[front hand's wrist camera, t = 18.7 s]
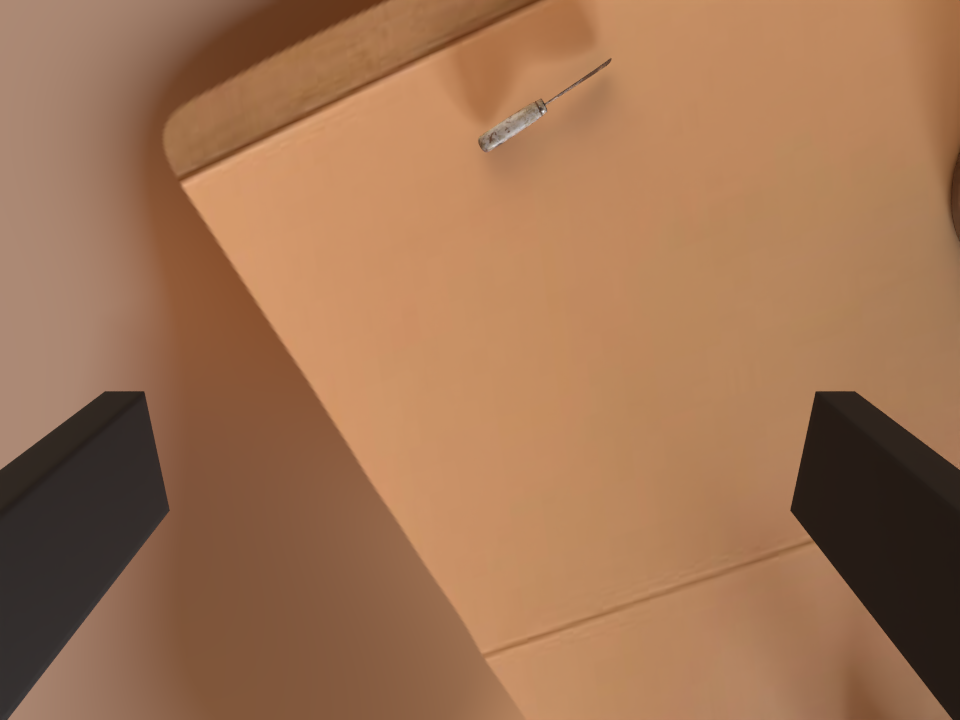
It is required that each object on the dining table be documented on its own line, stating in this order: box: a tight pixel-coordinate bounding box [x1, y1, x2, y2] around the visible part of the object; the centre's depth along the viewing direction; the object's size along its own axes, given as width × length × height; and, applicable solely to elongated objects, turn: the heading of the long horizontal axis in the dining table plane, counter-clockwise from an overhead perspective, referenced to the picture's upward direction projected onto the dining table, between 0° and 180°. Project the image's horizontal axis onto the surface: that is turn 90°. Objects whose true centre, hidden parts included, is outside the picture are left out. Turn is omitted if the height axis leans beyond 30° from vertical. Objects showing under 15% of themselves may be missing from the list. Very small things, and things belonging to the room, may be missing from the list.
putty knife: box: [478, 59, 611, 152], centre depth 34 cm, size 1×8×2 cm, turn 124°
